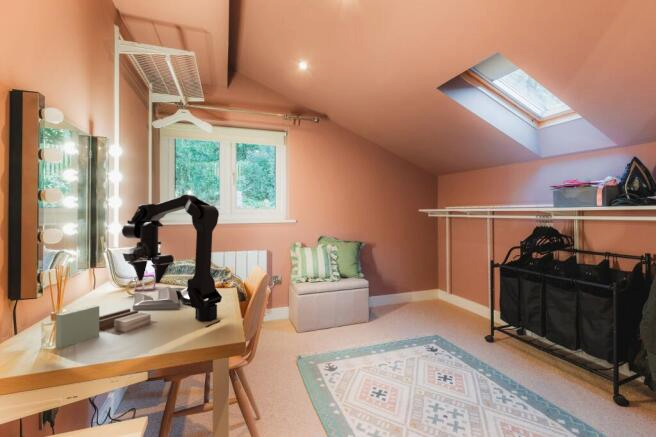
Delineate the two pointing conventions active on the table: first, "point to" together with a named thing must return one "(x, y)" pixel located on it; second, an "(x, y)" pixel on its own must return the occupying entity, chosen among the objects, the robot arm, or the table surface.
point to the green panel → (77, 325)
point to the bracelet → (132, 282)
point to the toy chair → (147, 276)
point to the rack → (108, 320)
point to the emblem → (162, 299)
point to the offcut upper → (132, 319)
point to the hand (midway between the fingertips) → (149, 281)
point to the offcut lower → (132, 326)
